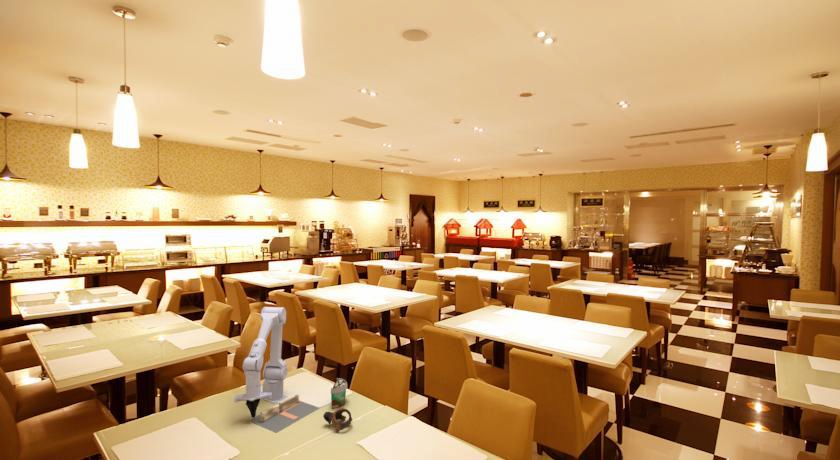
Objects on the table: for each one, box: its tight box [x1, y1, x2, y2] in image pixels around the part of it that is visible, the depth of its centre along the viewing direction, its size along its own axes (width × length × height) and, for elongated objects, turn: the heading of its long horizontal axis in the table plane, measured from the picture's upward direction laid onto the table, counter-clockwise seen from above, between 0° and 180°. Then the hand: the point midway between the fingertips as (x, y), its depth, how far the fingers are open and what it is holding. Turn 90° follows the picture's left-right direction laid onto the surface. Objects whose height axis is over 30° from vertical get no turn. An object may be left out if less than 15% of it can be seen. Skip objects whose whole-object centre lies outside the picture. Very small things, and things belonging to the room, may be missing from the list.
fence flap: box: [259, 404, 279, 422], centre depth 172 cm, size 9×2×4 cm, turn 149°
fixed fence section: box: [278, 394, 300, 413], centre depth 181 cm, size 2×11×4 cm, turn 149°
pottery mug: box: [323, 407, 353, 433], centre depth 166 cm, size 12×10×8 cm
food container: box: [330, 377, 349, 409], centre depth 185 cm, size 12×6×10 cm, turn 179°
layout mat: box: [247, 400, 320, 434], centre depth 175 cm, size 18×24×1 cm
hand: (253, 416), depth 170 cm, fingers closed
